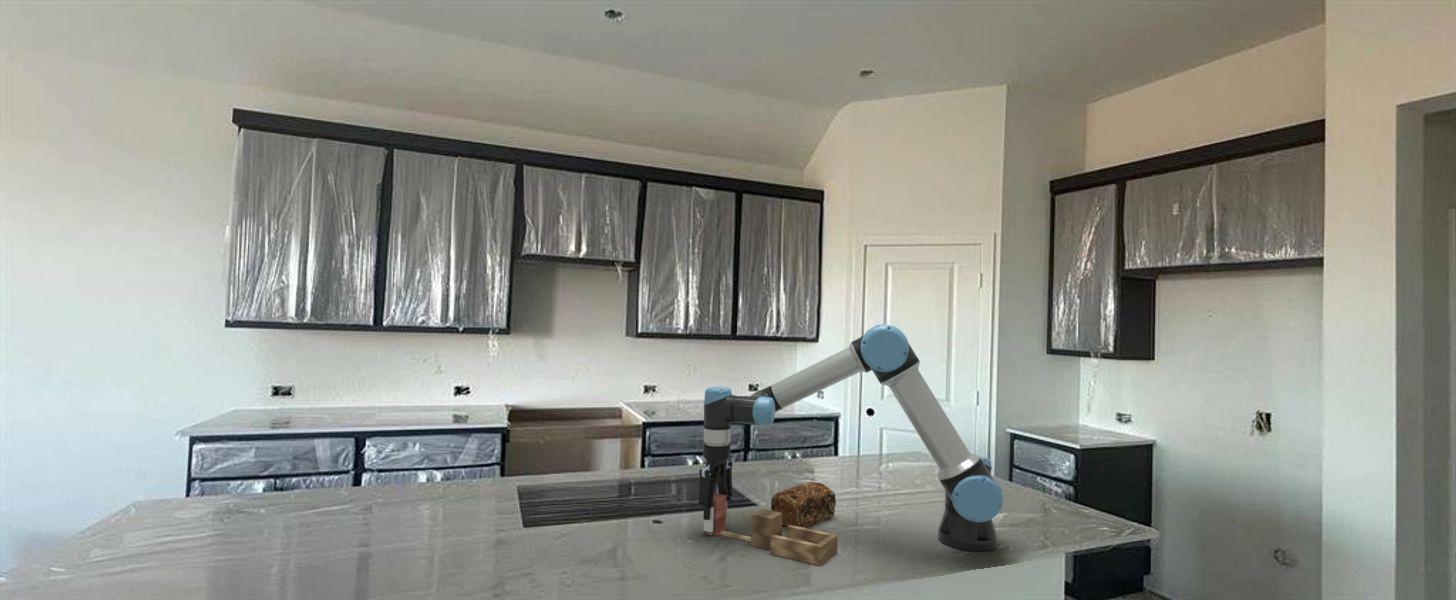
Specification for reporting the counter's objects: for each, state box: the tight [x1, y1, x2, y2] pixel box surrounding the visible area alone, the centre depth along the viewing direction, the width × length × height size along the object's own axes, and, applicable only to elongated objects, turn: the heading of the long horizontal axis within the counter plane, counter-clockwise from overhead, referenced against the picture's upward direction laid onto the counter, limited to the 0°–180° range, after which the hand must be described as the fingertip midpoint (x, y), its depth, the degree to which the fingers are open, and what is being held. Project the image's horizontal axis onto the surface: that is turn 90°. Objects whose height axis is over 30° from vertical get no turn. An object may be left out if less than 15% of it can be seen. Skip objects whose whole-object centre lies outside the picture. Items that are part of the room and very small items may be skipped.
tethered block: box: [703, 492, 783, 551], centre depth 171 cm, size 21×6×10 cm, turn 59°
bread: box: [770, 481, 837, 528], centre depth 188 cm, size 19×11×10 cm, turn 133°
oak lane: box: [769, 525, 839, 566], centre depth 161 cm, size 14×11×4 cm
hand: (715, 527), depth 175 cm, fingers open, 6 cm apart
